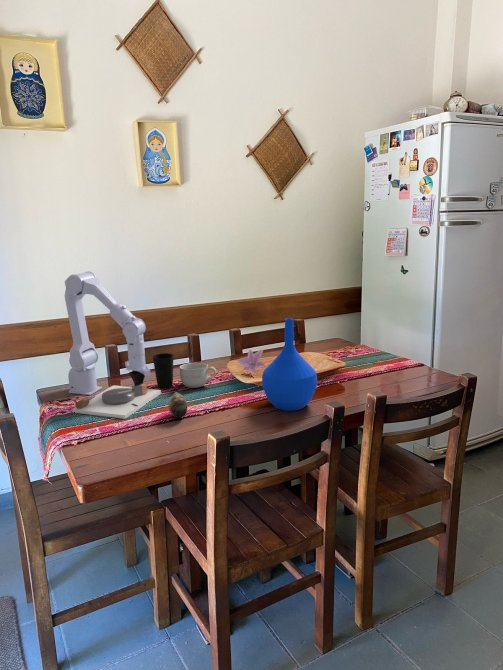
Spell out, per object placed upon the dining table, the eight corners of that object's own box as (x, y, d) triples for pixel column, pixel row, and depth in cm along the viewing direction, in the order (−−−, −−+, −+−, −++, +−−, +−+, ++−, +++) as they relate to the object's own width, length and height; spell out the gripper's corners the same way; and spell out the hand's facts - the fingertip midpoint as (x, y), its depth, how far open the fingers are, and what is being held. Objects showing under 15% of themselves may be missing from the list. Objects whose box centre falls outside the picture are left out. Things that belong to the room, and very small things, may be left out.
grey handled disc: (106, 406, 173) (106, 397, 172) (98, 396, 182) (97, 388, 182) (151, 397, 181) (150, 388, 180) (141, 388, 190) (140, 380, 189)
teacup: (175, 388, 193) (173, 368, 191) (189, 379, 203) (188, 360, 201) (208, 392, 188) (207, 371, 186) (221, 383, 198) (220, 363, 196)
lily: (236, 372, 213) (230, 356, 207) (260, 358, 216) (255, 341, 210) (250, 389, 205) (245, 372, 199) (275, 374, 208) (270, 357, 201)
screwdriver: (81, 409, 172) (80, 402, 172) (75, 408, 173) (74, 402, 172) (97, 399, 180) (96, 393, 180) (92, 399, 181) (91, 392, 181)
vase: (253, 401, 179) (251, 316, 172) (300, 392, 186) (300, 311, 179) (277, 420, 163) (276, 328, 155) (327, 410, 170) (328, 321, 162)
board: (73, 412, 173) (72, 408, 173) (113, 388, 195) (113, 384, 195) (125, 418, 167) (124, 414, 166) (160, 393, 189) (160, 389, 188)
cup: (171, 390, 191) (169, 359, 188) (151, 389, 193) (149, 358, 190) (178, 383, 199) (176, 353, 196) (159, 382, 200) (157, 352, 197)
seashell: (166, 413, 170) (164, 390, 168) (182, 410, 172) (181, 387, 170) (173, 424, 162) (172, 400, 160) (191, 420, 164) (190, 397, 162)
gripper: (116, 351, 185) (119, 387, 188) (136, 360, 174) (139, 398, 177) (134, 348, 189) (136, 383, 193) (154, 356, 178) (157, 393, 182)
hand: (139, 390), depth 185 cm, fingers closed, pressing on grey handled disc
